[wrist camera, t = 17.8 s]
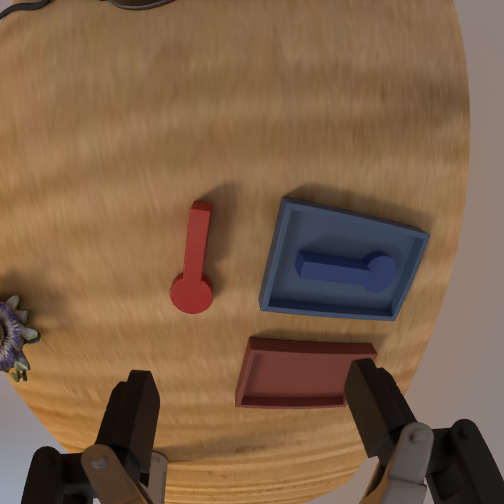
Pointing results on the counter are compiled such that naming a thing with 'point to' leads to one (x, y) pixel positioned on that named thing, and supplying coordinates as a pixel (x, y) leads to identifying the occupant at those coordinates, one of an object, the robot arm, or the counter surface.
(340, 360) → the red tray
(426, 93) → the counter surface
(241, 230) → the counter surface
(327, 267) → the blue spoon
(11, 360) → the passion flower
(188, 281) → the red spoon
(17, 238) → the counter surface
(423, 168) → the counter surface
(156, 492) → the spray can
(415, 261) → the blue tray
